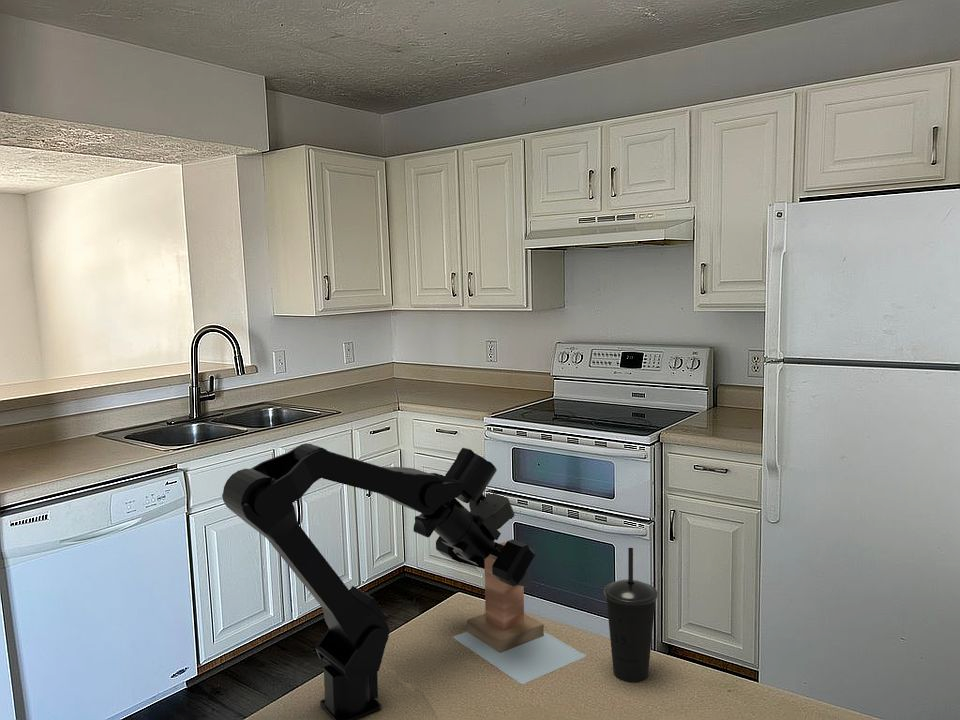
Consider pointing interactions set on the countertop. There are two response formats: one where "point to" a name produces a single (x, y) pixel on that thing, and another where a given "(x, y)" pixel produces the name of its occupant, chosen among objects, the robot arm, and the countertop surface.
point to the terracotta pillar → (502, 600)
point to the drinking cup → (630, 625)
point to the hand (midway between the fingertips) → (510, 575)
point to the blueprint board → (525, 656)
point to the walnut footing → (505, 632)
